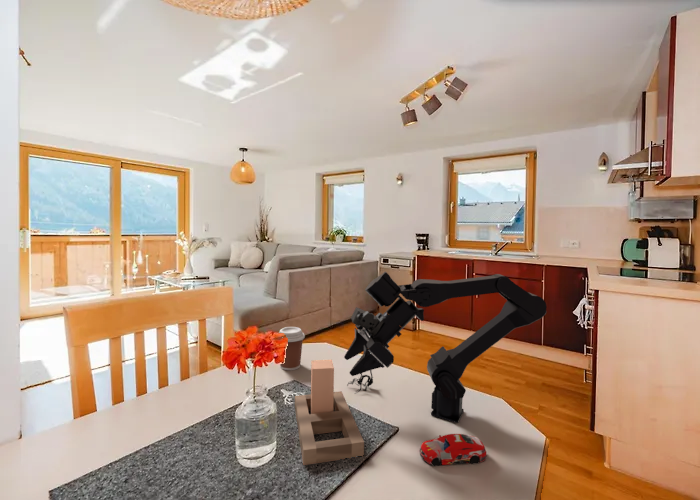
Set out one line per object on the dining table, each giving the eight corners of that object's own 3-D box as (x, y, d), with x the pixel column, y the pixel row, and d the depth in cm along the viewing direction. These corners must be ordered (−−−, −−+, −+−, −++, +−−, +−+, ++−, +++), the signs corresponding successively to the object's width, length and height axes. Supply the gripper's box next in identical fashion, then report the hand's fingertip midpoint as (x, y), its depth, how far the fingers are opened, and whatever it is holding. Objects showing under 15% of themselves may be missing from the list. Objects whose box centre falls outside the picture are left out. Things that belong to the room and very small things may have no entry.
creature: (348, 398, 92) (376, 393, 92) (344, 379, 91) (372, 374, 91) (348, 385, 100) (374, 379, 99) (344, 367, 99) (371, 362, 99)
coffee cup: (280, 374, 103) (281, 335, 103) (272, 363, 111) (272, 327, 110) (308, 368, 108) (309, 331, 107) (298, 358, 116) (299, 324, 115)
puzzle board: (294, 407, 85) (294, 395, 84) (341, 402, 87) (341, 391, 87) (303, 465, 64) (303, 450, 64) (363, 456, 67) (364, 441, 67)
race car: (424, 469, 64) (424, 449, 64) (416, 450, 70) (416, 431, 69) (490, 465, 65) (491, 445, 65) (477, 447, 71) (478, 429, 71)
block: (331, 410, 83) (331, 359, 83) (333, 422, 78) (334, 368, 78) (310, 412, 83) (311, 360, 82) (311, 423, 78) (312, 369, 77)
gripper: (364, 289, 90) (321, 331, 89) (380, 306, 71) (327, 359, 70) (391, 318, 91) (350, 359, 90) (415, 341, 73) (363, 393, 72)
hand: (347, 366), depth 81 cm, fingers open, 9 cm apart
